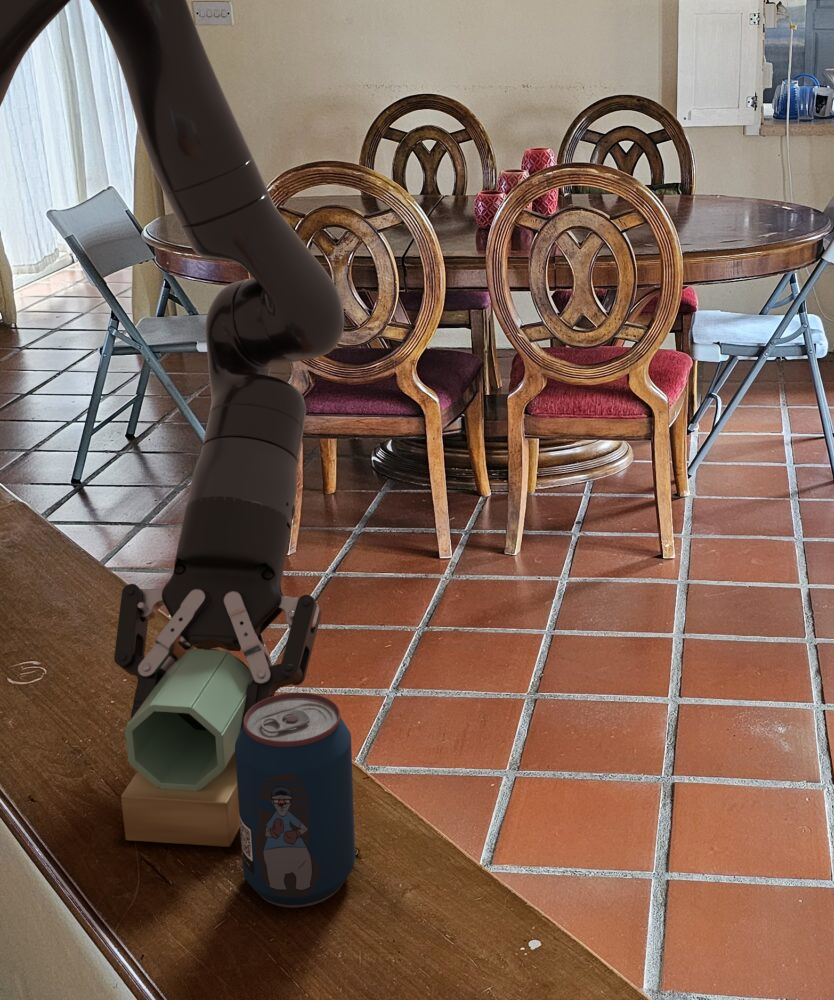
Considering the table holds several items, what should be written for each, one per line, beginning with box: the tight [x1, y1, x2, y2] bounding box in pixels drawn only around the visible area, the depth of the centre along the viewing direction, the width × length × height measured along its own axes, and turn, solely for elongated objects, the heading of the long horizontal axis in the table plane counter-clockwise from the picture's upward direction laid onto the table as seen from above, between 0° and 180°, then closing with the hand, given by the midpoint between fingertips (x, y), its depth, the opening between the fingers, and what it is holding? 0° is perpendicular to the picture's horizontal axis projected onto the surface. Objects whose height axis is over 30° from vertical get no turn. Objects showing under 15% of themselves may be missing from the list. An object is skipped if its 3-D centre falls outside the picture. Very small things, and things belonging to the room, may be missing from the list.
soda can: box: [235, 691, 356, 909], centre depth 81 cm, size 7×7×12 cm
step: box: [120, 752, 240, 848], centre depth 89 cm, size 10×7×4 cm
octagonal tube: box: [124, 648, 253, 791], centre depth 88 cm, size 8×6×6 cm
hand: (197, 738), depth 88 cm, fingers closed on octagonal tube, 6 cm apart
